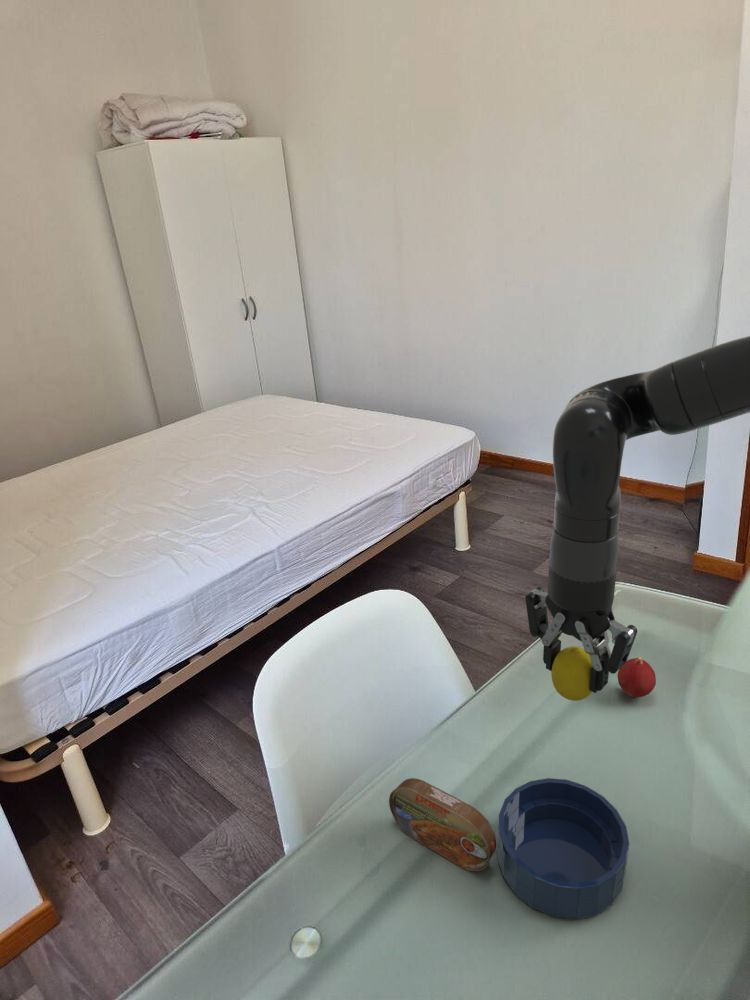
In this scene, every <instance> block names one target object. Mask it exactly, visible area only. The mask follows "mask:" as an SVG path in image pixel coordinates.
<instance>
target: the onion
mask: <svg viewBox="0 0 750 1000" xmlns="http://www.w3.org/2000/svg"><path fill="white" fill-rule="evenodd" d="M656 677H657V676H656V672H655V670H654V669H653V667H652V666H651V664H650V663H648V661H646V660H644V659H643V658H642V657H640V656H638V657H633V658H630V659H629V658H628V659H627V662H626V663H625V664H624V665H623V666H622V667H621V668H620V669H619V670H618V671H617V683H618V685H619V687H620V688H621V690H622V691H623V692H624V693H625V694H627V695H628V696H630V697H631V698H634V699H635V698H642V697H645V696H648V695H649V694H651V693H652V692H653V690H654V689H655V687H656V685H657V678H656Z"/></svg>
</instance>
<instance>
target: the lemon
mask: <svg viewBox="0 0 750 1000" xmlns="http://www.w3.org/2000/svg"><path fill="white" fill-rule="evenodd" d="M592 667H593V665H592V662H591V659H590V656H589V654H587V653H586V652H585V650H584V647H580V646H568V647H565V648H563V649H561V651H560V652H559V653H558V654H557V656H556V657H555V659H554V662H553V666H552V671H550V674H551V682H552V685H553V687H554V689H555V691H556V692H557V693H558V694H559V695H560V696H561V697H563V698H564V699H566V700H568V701H572V702H573V701H575V702H577V701H583V700H585V699H586V698H588V697H590V695H592V693H593V692H592V691H590V690H589V688H590V677H591V668H592Z"/></svg>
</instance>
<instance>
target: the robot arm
mask: <svg viewBox="0 0 750 1000" xmlns="http://www.w3.org/2000/svg"><path fill="white" fill-rule="evenodd" d="M749 413H750V335H748V336H747V335H746V336H744V337H740V338H736V339H733V340H729V341H726V342H723V343H719V344H717V345H714V346H711V347H708V348H705V349H702V350H700V351H698V352H697V351H696V352H695V353H692V354H690V355H687V356H685V357H684V356H683V357H682V358H679V359H675V360H674V361H671V362H669V363H666V364H664V365H662V366H661V365H660V366H659V367H657V368H654V369H652V370H647V371H642V372H636V373H632V374H628V375H624V376H620V377H615V378H612V379H608V380H605V381H602V382H599V383H595V384H594V385H591V386H589V387H587V388H585V389H584V388H583V390H581V391H579V392H578V393H576V394H575V395H573V396H572V397H571V399H570V400H569V401H568V403H567V404H566V405H565V408H564V409H563V411H562V413H561V414H560V416H559V417H558V419H557V421H556V424H555V427H554V432H553V439H552V441H553V442H552V466H553V475H554V476H553V477H554V484H555V496H554V505H553V523H552V531H551V537H550V542H549V551H548V553H549V556H548V575H547V591H545V590H544V588H543V587H542V586H537V587H535V588H534V589H533V590H531V591H530V592H528V593H527V594H526V595H525V597H524V598H525V606H526V607H525V608H526V612H527V613H526V614H527V621H528V628H529V629H528V630H529V633H530V635H531V636H532V637H534V638H536V637H538V638H540V640H541V643H542V644H543V651H542V652H543V653H542V654H543V655H542V661H543V664H544V665H545V669H546V670H548V671H550V672H551V671H552V666H553V662H554V659H555V657H556V656H557V654H558V653H559V652H560V651H561V650H562V640H560V639H559V638H561V636H562V635H563V634H564V635H566V636H571V637H573V638H575V639H576V640H577V641H579V642H581V643H582V648H583V649H584V650H585V652H586V653H587V654H589V656H590V659H591V662H592V665H593V667H592V668H591V677H590V688H589V690H590V691H592V693H594V694H597V693H598V692H599V691H602V690H603V689H604V688H605V687H606V686H607V684H609V677H610V675H609V674H613V675H614V674H616V673H618V671H619V669H620V668H621V667H622V666H623V665H624V664H625V663H626V662H627V661H628V660H629V656H630V654H631V651H632V648H633V645H634V642H635V640H636V637H637V634H638V628H637V626H635V625H633V624H628V625H627V626H625V625H623V624H622V623H620V622H618V621H616V618H615V615H614V612H613V604H614V599H615V590H616V583H617V573H618V572H617V570H618V563H619V562H618V561H619V549H620V545H619V544H620V542H619V530H620V529H619V527H620V518H621V508H622V494H621V493H622V492H621V488H620V477H621V471H622V470H621V469H622V463H623V462H622V461H623V455H624V450H625V445H626V441H628V440H630V439H633V438H636V437H639V436H643V435H647V434H651V433H655V432H658V431H659V432H660V431H661V432H662V433H664V434H666V435H670V436H676V435H682V434H686V433H689V432H693V431H696V430H700V429H702V428H706V427H709V426H712V425H716V424H719V423H721V422H725V421H728V420H732V419H735V418H737V417H741V416H743V415H746V414H749ZM547 609H548V610H547ZM548 611H549V613H550V615H551V616H552V621H551V622H550V624H549V618H548ZM607 631H609V632H610V633H611V643H612V644H614V645H613V647H612V649H611V650H610V647H609V643H610V639H609V635H608V632H607Z"/></svg>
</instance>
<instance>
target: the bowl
mask: <svg viewBox="0 0 750 1000" xmlns="http://www.w3.org/2000/svg"><path fill="white" fill-rule="evenodd" d="M497 819H498V823H497V824H498V825H497V826H498V827H497V830H498V831H497V862H498V865H499V867H500V871H501V873H502V877H503V879H504V880H505V881H506V883H507V884H508V886H509V887H510V888H511V890H512V891H513V893H514V894H515V895H516V896H517V897H518V898H519V899H521V900H523V901H524V902H525V903H526V904H528V906H530V907H531V908H533V909H534V910H538V911H540V912H542V913H544V914H547V915H550V916H552V917H555V918H563V919H571V920H572V919H573V920H577V919H578V920H579V919H583V918H587V917H592V916H593V917H594V916H597V915H598V914H600V913H601V912H603V911H604V910H606V909H607V908H610V907H611V906H612V905H613V904H614V903H615V902H616V900H617V898H618V897H619V896H620V895H621V893H622V891H623V886H624V881H625V876H626V871H627V870H626V869H627V864H628V857H629V848H630V839H629V835H628V829H627V826H626V824H625V822H624V820H623V819H622V816H621V815H620V813H619V811H618V810H617V809H616V807H614V805H613V804H611V802H609V801H608V800H607V799H606V797H605V796H604V795H602V794H600V793H598V792H597V791H596V790H594V789H592V788H590V787H588V786H587V785H584V784H581V783H578V782H576V781H573V780H570V779H563V778H552V777H551V778H550V777H546V778H540V779H535V780H530V781H527V782H526V783H524V784H522V785H519V786H517V787H516V788H514V790H513V791H512V792H510V794H509V795H508V796H507V797H506V798H505V799H504V801H503V802H502V805H501V807H500V811H499V812H498V818H497Z"/></svg>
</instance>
